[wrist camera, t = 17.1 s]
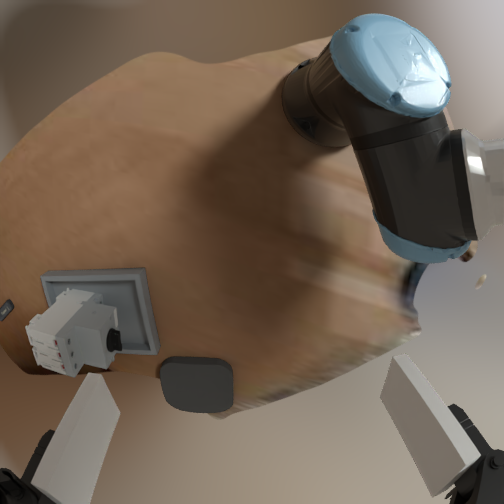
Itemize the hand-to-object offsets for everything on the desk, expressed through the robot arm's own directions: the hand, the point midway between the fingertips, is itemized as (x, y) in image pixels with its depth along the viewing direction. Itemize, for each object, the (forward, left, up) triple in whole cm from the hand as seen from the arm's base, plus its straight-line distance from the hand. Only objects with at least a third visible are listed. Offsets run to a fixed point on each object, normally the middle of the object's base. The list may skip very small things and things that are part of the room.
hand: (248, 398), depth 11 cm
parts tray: (+27, +14, -34) cm, 46 cm away
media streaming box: (+10, +32, -35) cm, 48 cm away
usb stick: (+58, +16, -35) cm, 70 cm away
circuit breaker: (+27, +14, -34) cm, 45 cm away
